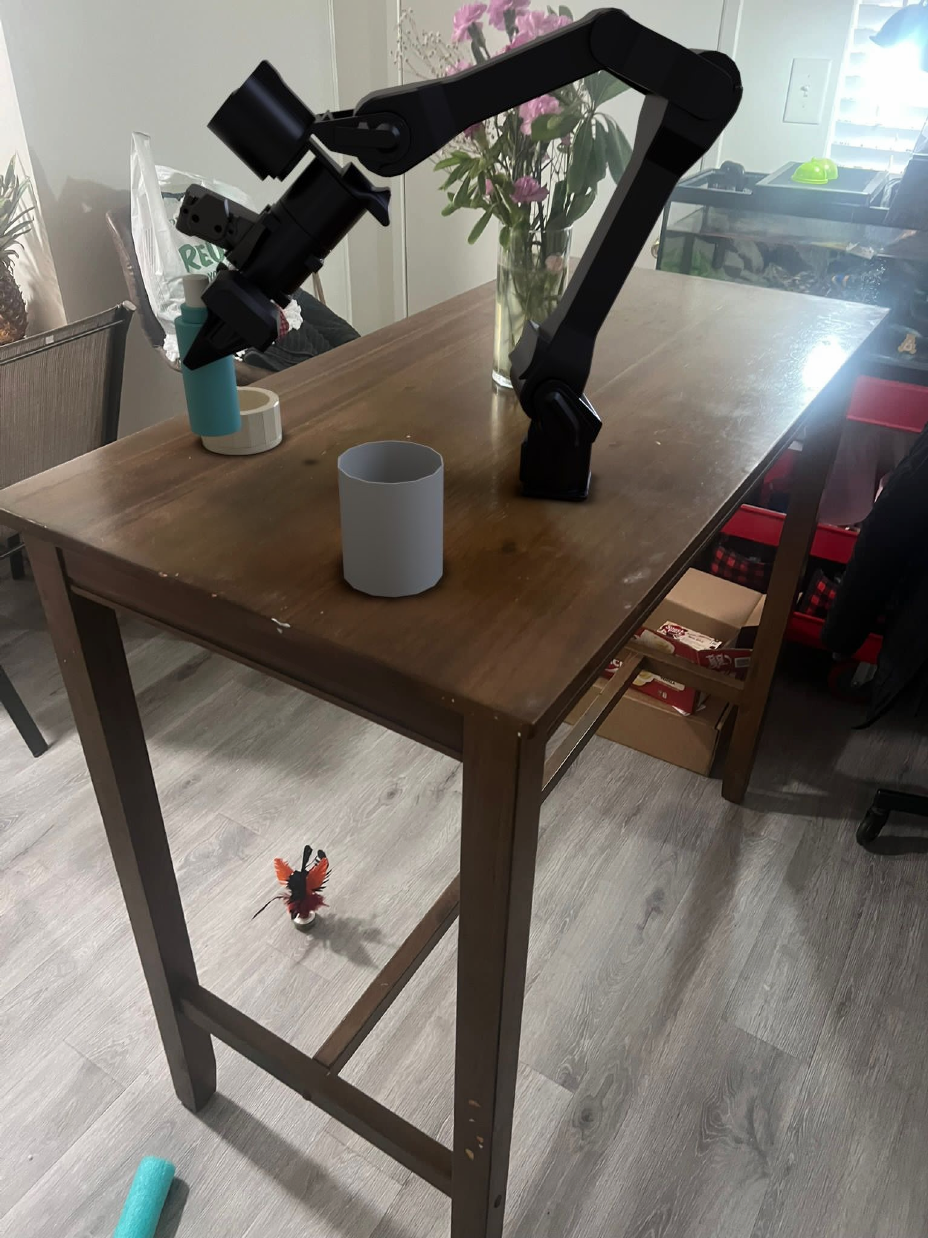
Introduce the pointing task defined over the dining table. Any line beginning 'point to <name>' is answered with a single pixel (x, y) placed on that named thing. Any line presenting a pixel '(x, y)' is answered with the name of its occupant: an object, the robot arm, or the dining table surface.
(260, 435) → the holder
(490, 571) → the dining table surface
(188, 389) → the bottle
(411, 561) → the cup
